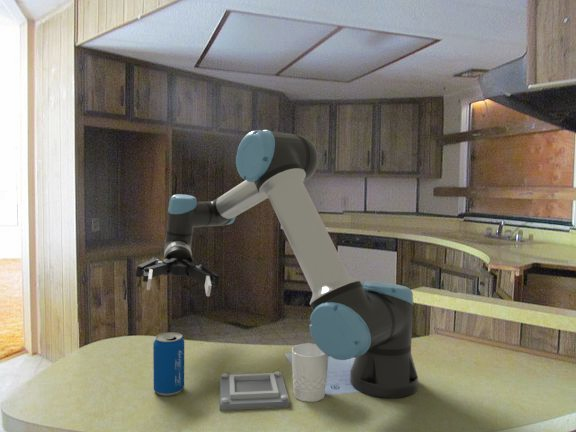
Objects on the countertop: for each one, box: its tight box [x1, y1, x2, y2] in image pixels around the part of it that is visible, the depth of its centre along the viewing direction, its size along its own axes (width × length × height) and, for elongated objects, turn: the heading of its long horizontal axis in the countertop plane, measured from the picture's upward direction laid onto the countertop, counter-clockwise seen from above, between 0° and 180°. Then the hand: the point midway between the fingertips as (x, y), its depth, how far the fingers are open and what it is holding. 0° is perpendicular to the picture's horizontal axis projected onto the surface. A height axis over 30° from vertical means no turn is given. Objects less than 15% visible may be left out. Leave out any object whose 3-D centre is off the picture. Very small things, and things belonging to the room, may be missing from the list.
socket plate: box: [219, 371, 290, 411], centre depth 102 cm, size 14×14×2 cm
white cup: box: [291, 342, 329, 403], centre depth 101 cm, size 8×8×10 cm
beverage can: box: [152, 331, 185, 397], centre depth 102 cm, size 6×6×12 cm
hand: (179, 287), depth 108 cm, fingers open, 13 cm apart
